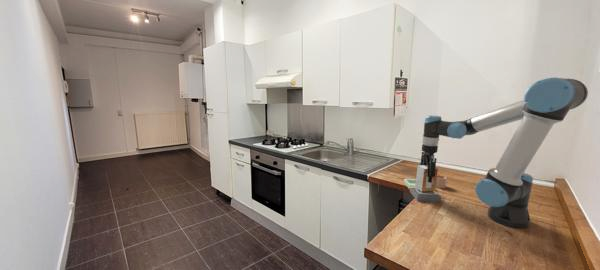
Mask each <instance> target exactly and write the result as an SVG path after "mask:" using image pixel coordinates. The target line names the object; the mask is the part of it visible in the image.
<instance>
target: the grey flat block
mask: <svg viewBox="0 0 600 270" xmlns="http://www.w3.org/2000/svg"><path fill="white" fill-rule="evenodd" d="M409 192H410V194H411V195H412V196H413V198H414V199H415V200H416V201H417V202H432V203H433V202H435V203H441V201H442V196H441V195H440V194H439V195H438V196H432V195H419V194H418V193H417V192H416V191H415V190H414V188H413V187H410V189H409Z"/></svg>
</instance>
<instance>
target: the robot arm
mask: <svg viewBox="0 0 600 270" xmlns="http://www.w3.org/2000/svg"><path fill="white" fill-rule="evenodd" d="M588 93H589V91H588V88H587V86H586V85H585V84H584V83H583V82H582V81H580V80H578V79H574V78H563V77H556V76H555V77H549V78H543V79H540V80H538V81H535V82H534V83H532V84H531V85H530V86H529V87H528V88H527V89H526V91H525V92H524V96H523V99H522V100H519V101H516V102H514V103H511V104H509V105H508V104H507V105H505V106H503V107H500V108H497V109H494V110H492V111H488V112H485V113H482V114H480V115H477V116H474V117H472V118H468V119H465V120H461V121H460V120H459V121H458V120H457V121H448V120H447V121H445V120H442V116H441V115H440V116H439V115H432V114H431V115H426V116H425V119H424V123H423V134H422V135H423V136H422V143H421V156H420V163H419V165H427V169H428V175H426V176H427V178H426V186H425V187H426V188H431V186H432V177H435V169H436V168H437V167H436V165H437V159H438V158H436V157H435V154H437V152H438V148H439V146H438V145H439V141H440V136H441V137H447V138H452V139H458V140H459V139H462V138H464V137H465V136H472V135H475V134H477V133H479V132H482V131H487V130H490V129H493V128H497V127H499V126H503V125H507V124H509V123H514V122H517V121H520V122H519V125H518V126H517V128H516V130H515V132H514V133H513V135H512V136H511V138H510V141H509V142H508V144H507V146H506V148H505V149H504V152H503V153H502V155H501V157H500V159H499V160H498V162H497V164H496V166H495V167H491V168H490V169H489V170H488V171H487V173H486V174H485V176H484V178H483V179H480V180H479V181H478V182H477V183H476V185H475V188H474V192H475V194H476V195H477V196H476V197H477V198H478V200H479V201H480V202H482V203H483V204H484V205H487V206H488V209H487V213H486V214H487V215H486V216H488V217H489V218H490V219H491V220H493V222H496V223H498V224H502V225H504V226H508V227H512V228H518V229H525V228H526V229H527V228H528V227H530V226H531V218H530V214H529V210H528V208H529V202H530V196H531V192H532V187H533V184H534V183H533V182H534V180H533V179H534V177H533V176H532V175H531V174H528V173H525V172H526V170H527V168H528V166H529V165H530V164H531V162H532V160H533V159H534V157H535V155H536V154H537V152H538V150H539V149H540V147H541V145H542V144H543V142H544V140H546V138H547V136H548V134H549V132H550V131H551V129H552V128H553V126H554V125H555V124H558V123H561V122H563V120H564V119H565V117H566V116H567V114H569V111H570V110H573V109H576V108H579V107H580V106H581V105H583V103H584V102H585V101H586V99H587V98H588V96H589V95H588Z"/></svg>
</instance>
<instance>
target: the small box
mask: <svg viewBox="0 0 600 270" xmlns="http://www.w3.org/2000/svg"><path fill="white" fill-rule="evenodd" d="M438 169H439V168H437V167H436V169H435V177H432V186H431V188H426V187H425V186H426V178H427V176H426V175H428V169H427V165H420V164H419V165H417V169H416V178H415V179H416V185H415V187H416V188H417V189H419V190H420V191H436V188H437V187H436V179H437V175H438V171H439V170H438Z"/></svg>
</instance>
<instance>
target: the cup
mask: <svg viewBox="0 0 600 270" xmlns="http://www.w3.org/2000/svg"><path fill="white" fill-rule="evenodd" d="M447 182H448V177H447V176H445V175H441V174H437V179H436V187H435V188H437V189H446V187H447Z"/></svg>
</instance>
